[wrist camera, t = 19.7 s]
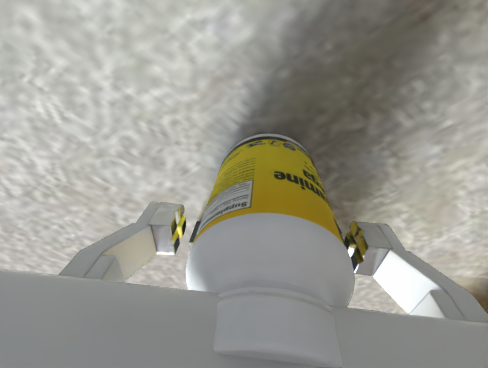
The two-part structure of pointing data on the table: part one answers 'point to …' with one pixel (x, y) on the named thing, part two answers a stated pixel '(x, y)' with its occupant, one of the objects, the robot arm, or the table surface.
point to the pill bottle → (272, 256)
